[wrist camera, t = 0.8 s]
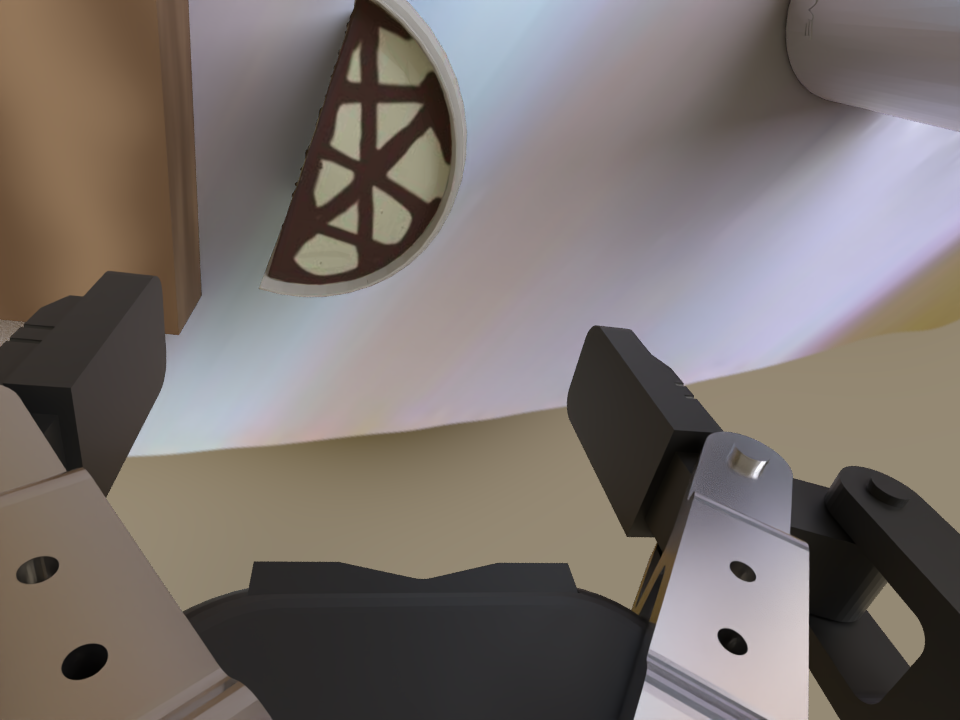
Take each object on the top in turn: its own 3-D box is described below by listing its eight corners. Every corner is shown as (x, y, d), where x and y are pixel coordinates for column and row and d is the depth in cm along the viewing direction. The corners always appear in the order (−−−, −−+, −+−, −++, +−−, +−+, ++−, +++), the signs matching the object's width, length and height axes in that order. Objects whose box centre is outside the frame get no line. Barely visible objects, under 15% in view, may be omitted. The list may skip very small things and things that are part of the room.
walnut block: (188, -40, 26) (153, -46, 22) (203, 292, 34) (178, 335, 30) (-203, -124, 23) (-332, -149, 19) (-88, 262, 31) (-161, 305, 27)
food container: (393, 260, 34) (400, 347, 26) (286, 220, 32) (254, 300, 24) (487, 40, 29) (532, 58, 21) (366, -26, 27) (362, -34, 19)
